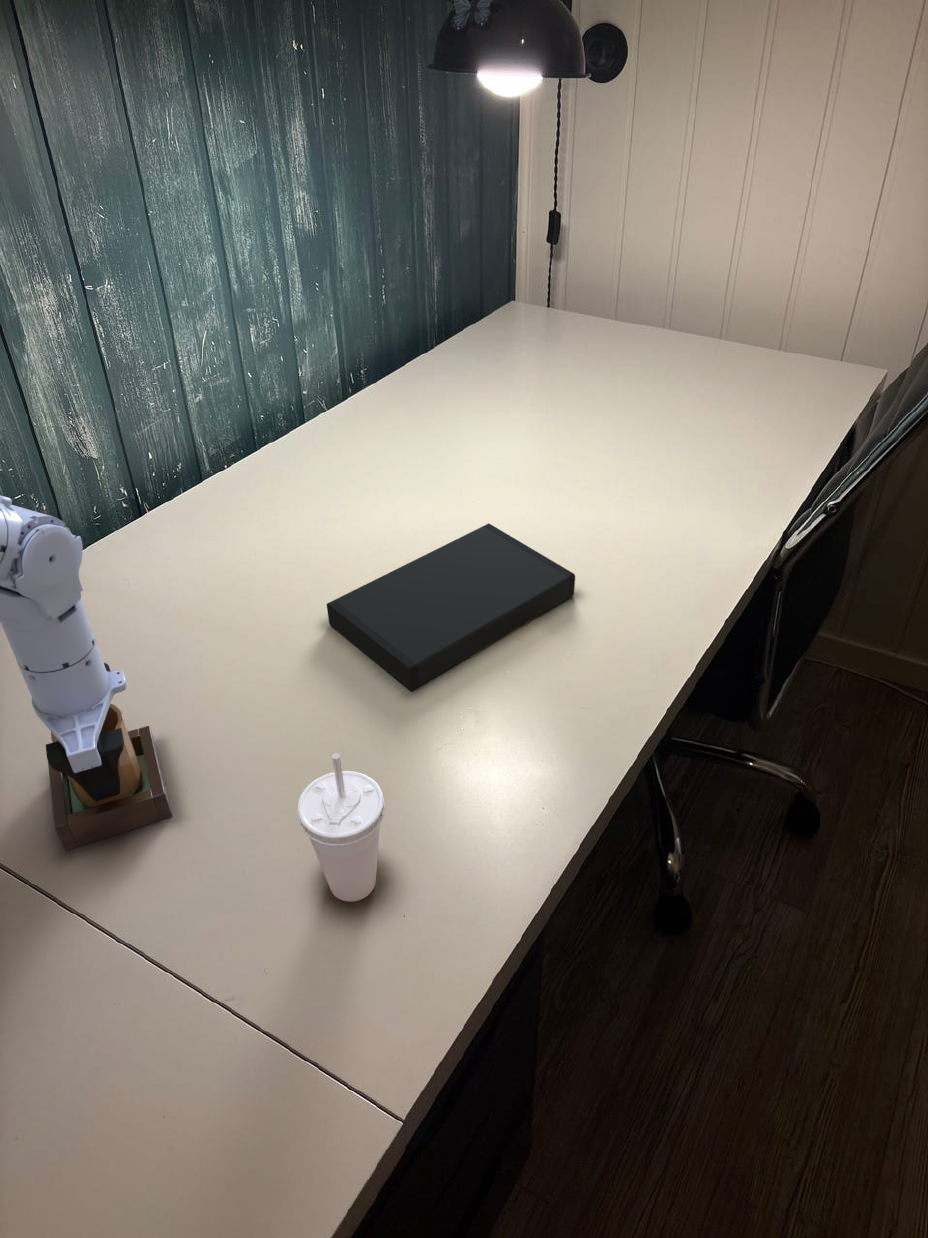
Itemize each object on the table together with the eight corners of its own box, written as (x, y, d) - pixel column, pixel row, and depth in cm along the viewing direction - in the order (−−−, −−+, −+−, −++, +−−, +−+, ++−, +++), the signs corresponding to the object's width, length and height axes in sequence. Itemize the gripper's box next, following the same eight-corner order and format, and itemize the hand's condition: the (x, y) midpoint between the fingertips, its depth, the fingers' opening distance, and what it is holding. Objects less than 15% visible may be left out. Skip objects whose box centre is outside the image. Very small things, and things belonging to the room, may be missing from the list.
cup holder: (65, 851, 76) (54, 828, 74) (57, 777, 82) (46, 754, 80) (172, 816, 79) (165, 793, 77) (156, 748, 85) (149, 725, 83)
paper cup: (78, 816, 76) (53, 758, 72) (72, 770, 80) (48, 713, 76) (146, 795, 78) (126, 737, 74) (137, 751, 82) (118, 694, 78)
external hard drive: (329, 624, 99) (326, 602, 97) (488, 543, 110) (488, 522, 109) (411, 691, 90) (410, 669, 88) (574, 596, 102) (575, 574, 100)
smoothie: (398, 851, 75) (386, 732, 67) (385, 920, 70) (371, 800, 62) (322, 846, 76) (300, 726, 67) (303, 913, 71) (278, 794, 62)
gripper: (122, 692, 66) (163, 815, 74) (100, 583, 76) (138, 702, 85) (17, 721, 64) (72, 844, 72) (9, 605, 74) (58, 724, 82)
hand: (102, 769), depth 78 cm, fingers closed on paper cup, 6 cm apart
